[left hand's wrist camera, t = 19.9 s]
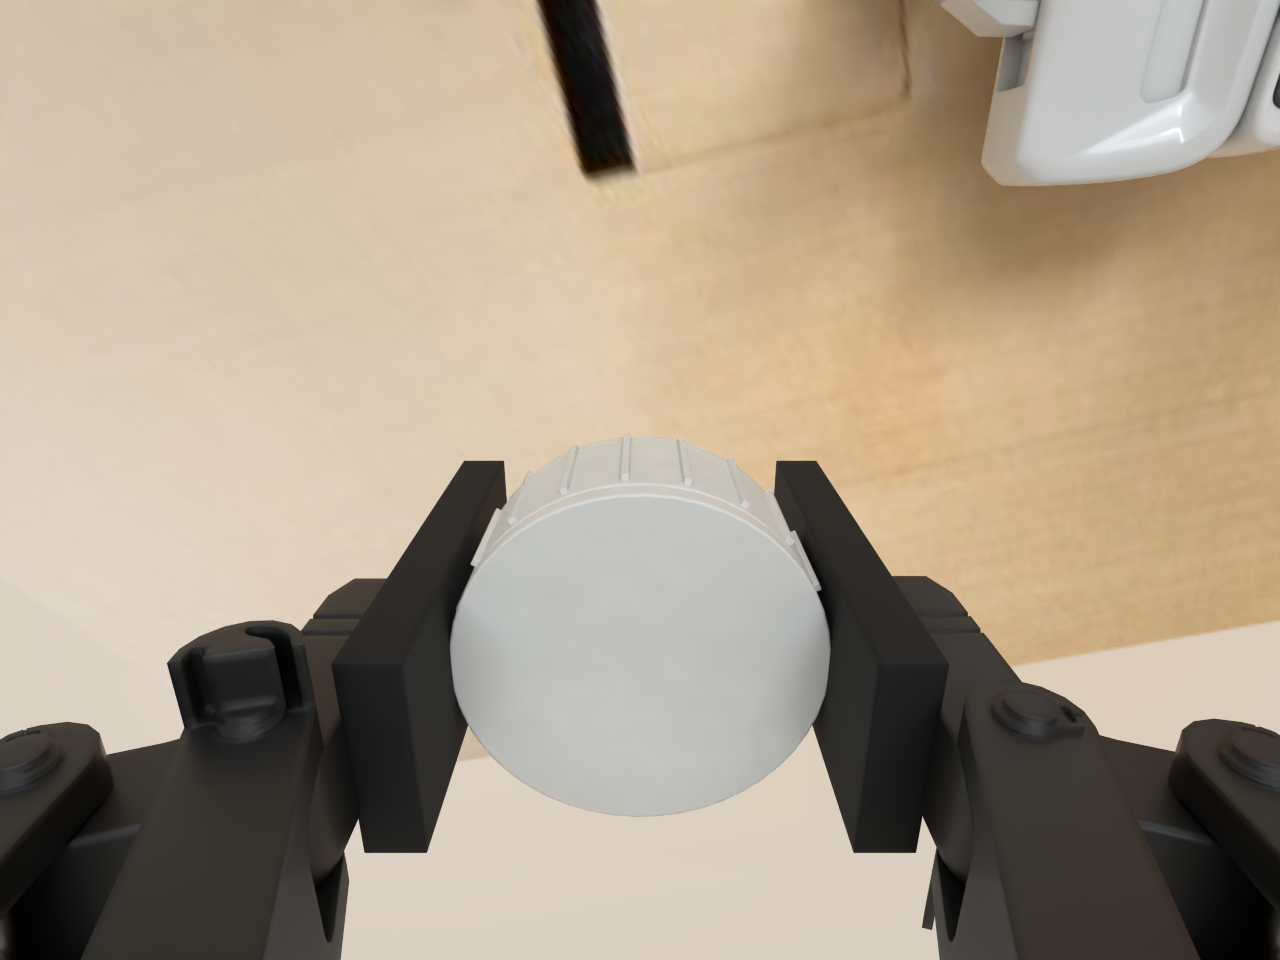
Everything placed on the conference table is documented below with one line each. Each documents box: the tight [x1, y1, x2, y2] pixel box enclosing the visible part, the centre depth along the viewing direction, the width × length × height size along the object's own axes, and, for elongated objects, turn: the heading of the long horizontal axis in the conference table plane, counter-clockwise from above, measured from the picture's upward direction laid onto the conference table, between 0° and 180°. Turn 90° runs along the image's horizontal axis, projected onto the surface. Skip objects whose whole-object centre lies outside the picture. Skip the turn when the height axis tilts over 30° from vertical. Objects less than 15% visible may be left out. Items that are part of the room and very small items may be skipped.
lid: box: [450, 434, 831, 817], centre depth 11 cm, size 5×5×2 cm
